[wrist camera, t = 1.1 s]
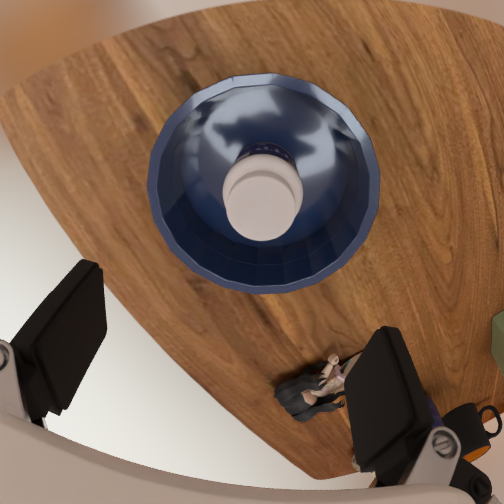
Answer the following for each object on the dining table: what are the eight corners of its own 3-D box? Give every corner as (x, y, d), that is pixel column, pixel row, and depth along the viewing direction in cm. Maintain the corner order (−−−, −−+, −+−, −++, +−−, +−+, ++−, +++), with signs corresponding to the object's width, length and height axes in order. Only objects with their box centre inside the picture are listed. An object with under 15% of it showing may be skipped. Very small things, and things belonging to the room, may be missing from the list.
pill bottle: (309, 165, 25) (327, 201, 17) (272, 213, 27) (273, 267, 19) (255, 128, 24) (247, 146, 16) (220, 179, 26) (198, 221, 18)
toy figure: (363, 320, 33) (264, 381, 38) (382, 362, 28) (269, 423, 33) (388, 345, 36) (297, 398, 41) (405, 383, 31) (304, 436, 36)
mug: (491, 401, 43) (508, 440, 34) (443, 430, 47) (455, 470, 38) (488, 387, 40) (507, 430, 31) (435, 419, 44) (448, 464, 35)
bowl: (192, 63, 21) (168, 55, 16) (378, 111, 22) (409, 118, 17) (164, 231, 29) (140, 267, 23) (323, 268, 30) (333, 311, 24)
